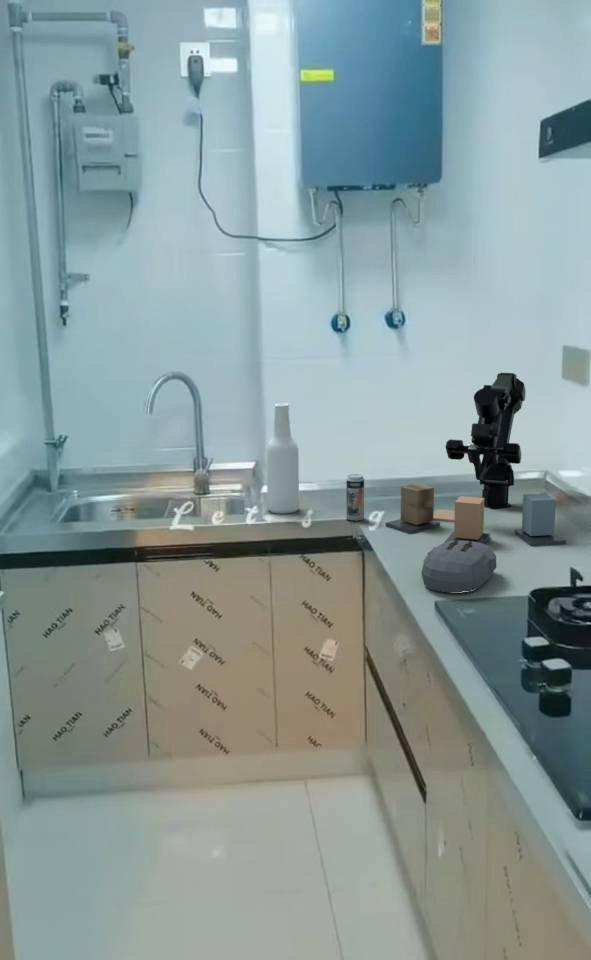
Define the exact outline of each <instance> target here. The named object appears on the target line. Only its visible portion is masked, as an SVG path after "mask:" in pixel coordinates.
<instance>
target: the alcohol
mask: <svg viewBox="0 0 591 960" xmlns="http://www.w3.org/2000/svg"><path fill="white" fill-rule="evenodd" d="M273 406H274V422H273V435H272V437H271V439H270V440H269V442H268V443H267V445H266V451H265V452H266V487H267V488H266V491H267V493H266V494H267V500H266V501H267V509H268V511H269V512H270V513H272V514H278V515H279V514H280V515H286V514H287V515H288V514H294V513H296V512H297V511H298V510H299V508H300V485H299V484H300V479H299V478H300V477H299V476H300V475H299V473H300V472H299V470H300V469H299V462H300V461H299V446H298V443H297V442H296V440H295V439H294V438H293V437H292V433H291V423H290V415H289V413H290V412H289V411H290V408H289V406H290V404H289V403H287V402H277V403H275V404H274V405H273Z"/></svg>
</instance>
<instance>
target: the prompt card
mask: <svg viewBox="0 0 591 960" xmlns="http://www.w3.org/2000/svg"><path fill="white" fill-rule="evenodd" d="M454 519H455V510H451V509H449V510H448V509H436V510H435V511H434V512H433V520H434V521H437V522H448V523H454Z"/></svg>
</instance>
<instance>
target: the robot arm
mask: <svg viewBox="0 0 591 960" xmlns="http://www.w3.org/2000/svg"><path fill="white" fill-rule="evenodd" d="M525 387H526V386H525V383H524V382H523V381H521V380H520V379H519V378H518V377H517V374H515V373H514V372H500V373H497V375H496V379H495V381H494V382H493V383H492V384H484V385H483V388H480V389H479V390H477V391H476V392H475V393H474V395H473V401H474V405H475V410H476V414H477V416H478V420H477V423H475V422H474V423H472V424H471V432H470V436H471V443H469V444H468V445H464V442H463V439H451V438H450V439H448V440H447V441H446V442H445V450H446V454H447V457H448V459H450V460H458V461H461V460H462V459H464V458H465V455H467V458H468V461H469V463H470V464H473V466H474V473H475V478H476V481H479V485H483V489H482V491H481V492H482V495H481V498H484V507H487V508H489V509H499V508H500V509H501V508H509V507H512V504H511V503H509V489H510V488H509V487H513V486H514V485H515V473H514V470H513V465H512V464H517V465H518V464H521V460H522V451H521V446H520V444H519V443H516V442H510V439H511V434H512V429H513V424H514V423H513V422H514V417H515V415H516V414H517V413H518V412H519V411H520V410H521V409H522V406H523V402H525V400H526V388H525ZM481 455H482V460H481Z"/></svg>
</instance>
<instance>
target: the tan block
mask: <svg viewBox="0 0 591 960" xmlns="http://www.w3.org/2000/svg"><path fill="white" fill-rule="evenodd" d="M454 511H455V519H454V522H453V524H454V527H453V528H454V529H453V531H454V537H456V538H466V539H476V540H479V538H480V537H481V535H482V534H483V533H484V524H485V523H484V522H485V521H484V520H485V505H484V498H482V497H474V496H463V495H460V496H458V498H457V499H456V500H455V501H454Z"/></svg>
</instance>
